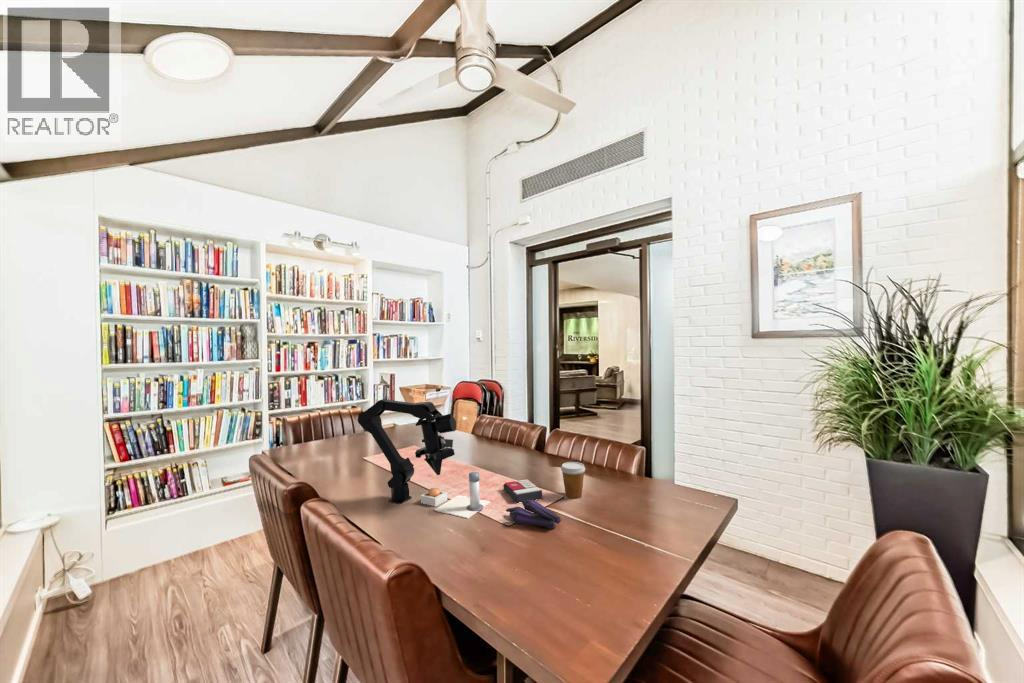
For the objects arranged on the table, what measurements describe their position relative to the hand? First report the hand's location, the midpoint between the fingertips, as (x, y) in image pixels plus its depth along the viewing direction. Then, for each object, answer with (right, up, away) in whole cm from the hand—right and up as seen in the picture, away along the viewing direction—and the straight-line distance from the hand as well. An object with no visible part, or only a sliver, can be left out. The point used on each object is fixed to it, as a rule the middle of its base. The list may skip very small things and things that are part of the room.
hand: (438, 474), depth 156 cm
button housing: (-2, -11, +1) cm, 11 cm away
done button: (-2, -9, +1) cm, 9 cm away
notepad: (+10, -10, -4) cm, 15 cm away
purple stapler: (+35, -10, -18) cm, 41 cm away
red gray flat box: (+33, -10, +6) cm, 35 cm away
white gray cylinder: (+15, -10, -6) cm, 19 cm away
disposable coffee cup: (+53, -10, +3) cm, 54 cm away
